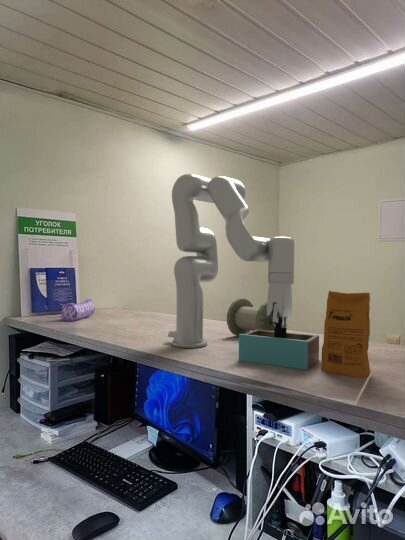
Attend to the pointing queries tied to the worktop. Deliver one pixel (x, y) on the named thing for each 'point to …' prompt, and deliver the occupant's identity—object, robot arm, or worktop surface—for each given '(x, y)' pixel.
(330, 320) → the coffee package
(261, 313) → the spool
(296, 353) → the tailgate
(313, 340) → the crate
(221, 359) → the worktop surface
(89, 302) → the pencil case
